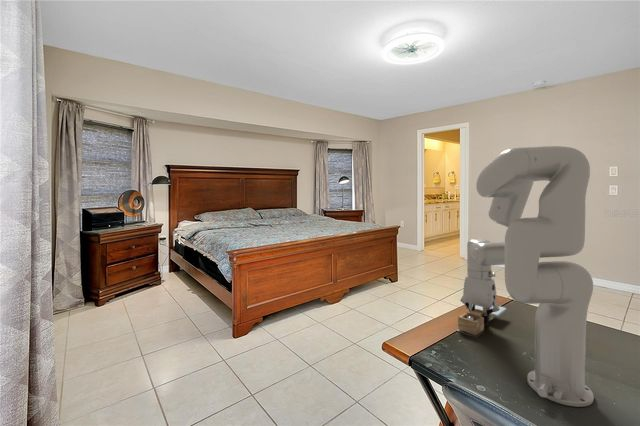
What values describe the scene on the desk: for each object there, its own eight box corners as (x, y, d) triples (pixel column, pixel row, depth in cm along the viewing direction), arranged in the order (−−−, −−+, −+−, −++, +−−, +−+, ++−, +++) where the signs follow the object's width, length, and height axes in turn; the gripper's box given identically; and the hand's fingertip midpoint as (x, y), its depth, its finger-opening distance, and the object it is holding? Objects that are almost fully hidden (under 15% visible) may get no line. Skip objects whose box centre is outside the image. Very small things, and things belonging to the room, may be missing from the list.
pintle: (476, 337, 99) (476, 323, 98) (455, 330, 104) (455, 316, 104) (485, 330, 103) (485, 316, 103) (464, 324, 108) (464, 311, 108)
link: (475, 335, 99) (475, 320, 99) (458, 329, 104) (458, 315, 103) (498, 319, 110) (498, 306, 110) (481, 315, 115) (481, 302, 114)
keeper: (497, 325, 106) (497, 315, 106) (466, 316, 115) (466, 306, 115) (506, 318, 112) (506, 308, 112) (476, 310, 121) (475, 300, 120)
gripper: (508, 276, 102) (508, 328, 103) (461, 267, 115) (462, 314, 116) (499, 280, 97) (499, 334, 98) (451, 271, 110) (452, 319, 111)
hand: (479, 323), depth 107 cm, fingers closed on link, 3 cm apart
